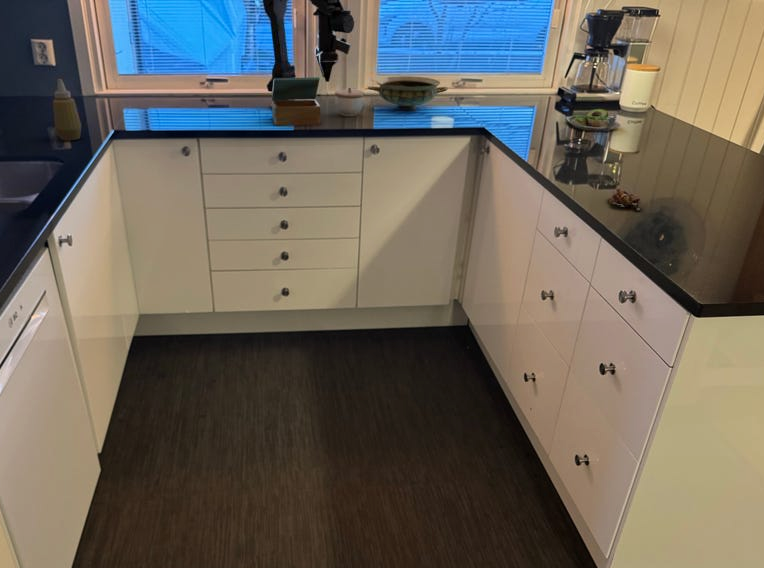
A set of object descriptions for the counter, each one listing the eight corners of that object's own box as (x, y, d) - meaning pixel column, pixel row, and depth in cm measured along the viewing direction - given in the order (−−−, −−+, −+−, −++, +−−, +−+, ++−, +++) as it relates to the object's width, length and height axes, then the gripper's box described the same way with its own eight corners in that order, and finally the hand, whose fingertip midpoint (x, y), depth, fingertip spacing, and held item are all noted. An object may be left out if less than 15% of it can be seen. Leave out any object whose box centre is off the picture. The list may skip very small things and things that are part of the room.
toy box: (320, 124, 241) (320, 106, 237) (275, 126, 239) (275, 107, 235) (315, 117, 251) (315, 99, 247) (272, 118, 249) (271, 100, 245)
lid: (319, 79, 235) (319, 77, 235) (274, 80, 233) (273, 78, 233) (315, 99, 247) (315, 97, 247) (272, 100, 245) (271, 97, 245)
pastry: (635, 196, 176) (639, 182, 174) (640, 212, 166) (644, 197, 164) (606, 194, 177) (609, 180, 175) (609, 209, 168) (613, 194, 166)
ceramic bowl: (443, 103, 274) (446, 76, 269) (447, 116, 254) (450, 87, 248) (368, 101, 276) (369, 74, 271) (366, 114, 256) (367, 85, 251)
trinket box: (364, 111, 259) (365, 85, 254) (362, 118, 250) (363, 90, 245) (335, 110, 260) (336, 84, 255) (333, 117, 251) (334, 90, 246)
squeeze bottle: (59, 143, 216) (48, 82, 207) (55, 137, 223) (44, 78, 213) (85, 140, 220) (75, 80, 210) (80, 134, 226) (70, 76, 216)
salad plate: (631, 133, 233) (635, 119, 231) (579, 133, 232) (582, 119, 230) (609, 120, 249) (612, 107, 247) (560, 120, 249) (563, 107, 246)
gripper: (353, 33, 229) (352, 83, 237) (345, 27, 245) (344, 74, 253) (320, 34, 228) (320, 84, 236) (314, 28, 244) (314, 75, 252)
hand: (325, 79), depth 244 cm, fingers open, 9 cm apart
